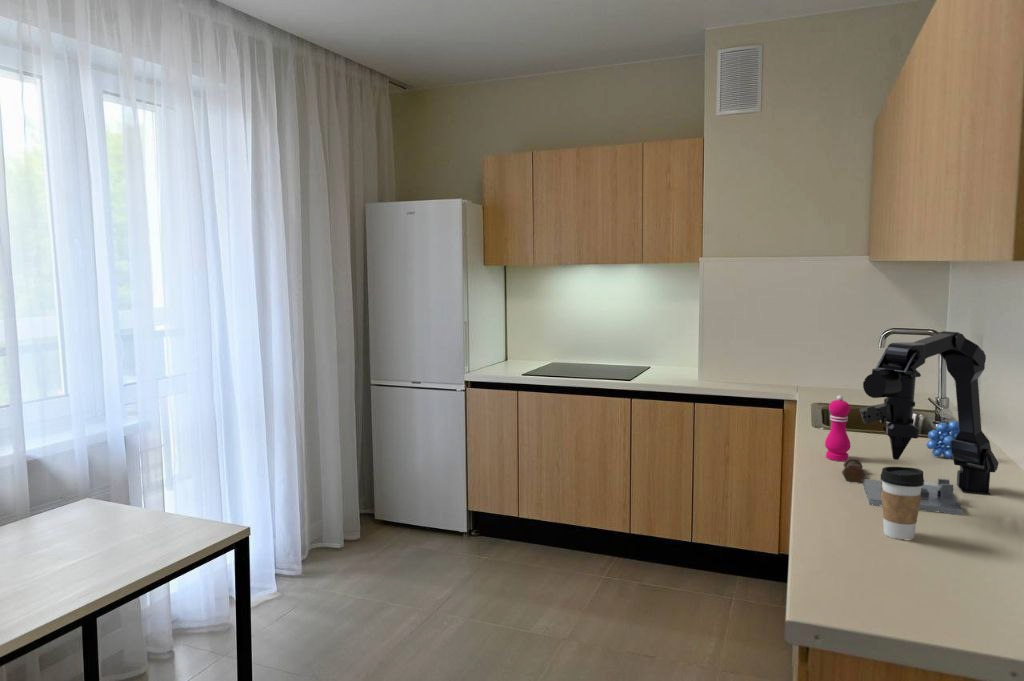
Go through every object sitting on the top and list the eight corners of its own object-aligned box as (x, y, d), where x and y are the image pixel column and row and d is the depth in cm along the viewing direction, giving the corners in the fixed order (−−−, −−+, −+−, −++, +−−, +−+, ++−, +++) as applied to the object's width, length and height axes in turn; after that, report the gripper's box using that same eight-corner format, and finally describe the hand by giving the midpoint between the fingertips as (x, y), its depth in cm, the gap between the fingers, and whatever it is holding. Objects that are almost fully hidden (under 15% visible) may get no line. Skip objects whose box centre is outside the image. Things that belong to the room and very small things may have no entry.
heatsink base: (946, 492, 184) (948, 474, 184) (962, 515, 168) (963, 494, 167) (862, 484, 192) (863, 466, 191) (869, 504, 175) (870, 485, 174)
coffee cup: (919, 545, 149) (924, 477, 148) (875, 537, 154) (879, 471, 152) (921, 532, 156) (925, 467, 155) (878, 525, 161) (882, 462, 159)
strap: (948, 488, 178) (948, 484, 178) (950, 492, 175) (951, 488, 175) (886, 479, 183) (887, 476, 183) (888, 483, 181) (888, 479, 180)
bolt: (854, 475, 207) (856, 488, 193) (839, 465, 208) (838, 477, 195) (866, 459, 205) (868, 471, 191) (850, 449, 207) (851, 460, 193)
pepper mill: (824, 460, 215) (827, 396, 213) (823, 454, 222) (826, 392, 220) (850, 462, 213) (853, 398, 211) (848, 456, 219) (852, 394, 217)
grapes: (966, 456, 219) (969, 419, 218) (970, 462, 213) (973, 423, 212) (923, 453, 224) (926, 416, 223) (926, 458, 218) (929, 420, 217)
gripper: (860, 387, 179) (855, 447, 181) (866, 398, 162) (861, 464, 164) (909, 391, 175) (904, 452, 177) (921, 402, 158) (915, 470, 159)
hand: (895, 459), depth 169 cm, fingers closed
